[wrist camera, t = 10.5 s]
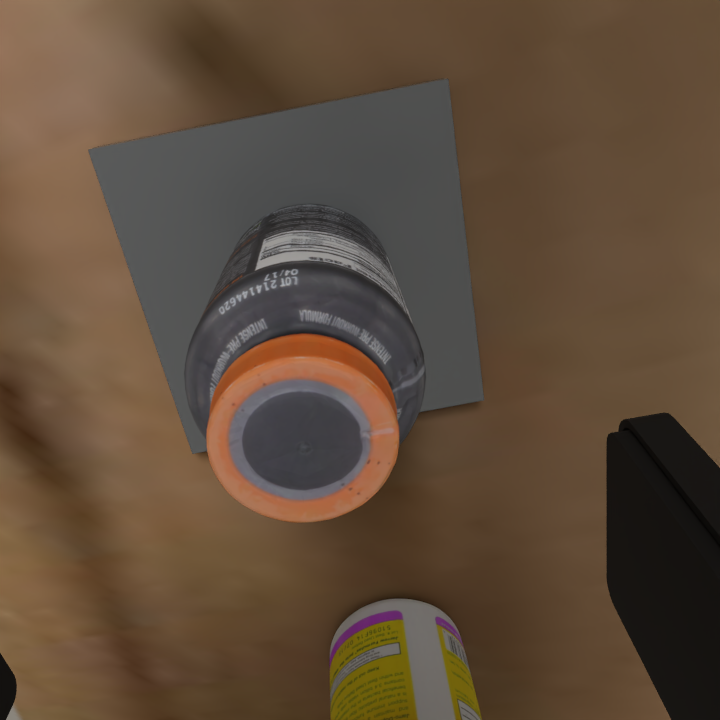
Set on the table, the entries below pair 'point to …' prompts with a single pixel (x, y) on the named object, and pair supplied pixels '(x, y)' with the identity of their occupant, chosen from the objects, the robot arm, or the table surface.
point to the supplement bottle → (400, 665)
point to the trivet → (301, 186)
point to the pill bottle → (305, 366)
